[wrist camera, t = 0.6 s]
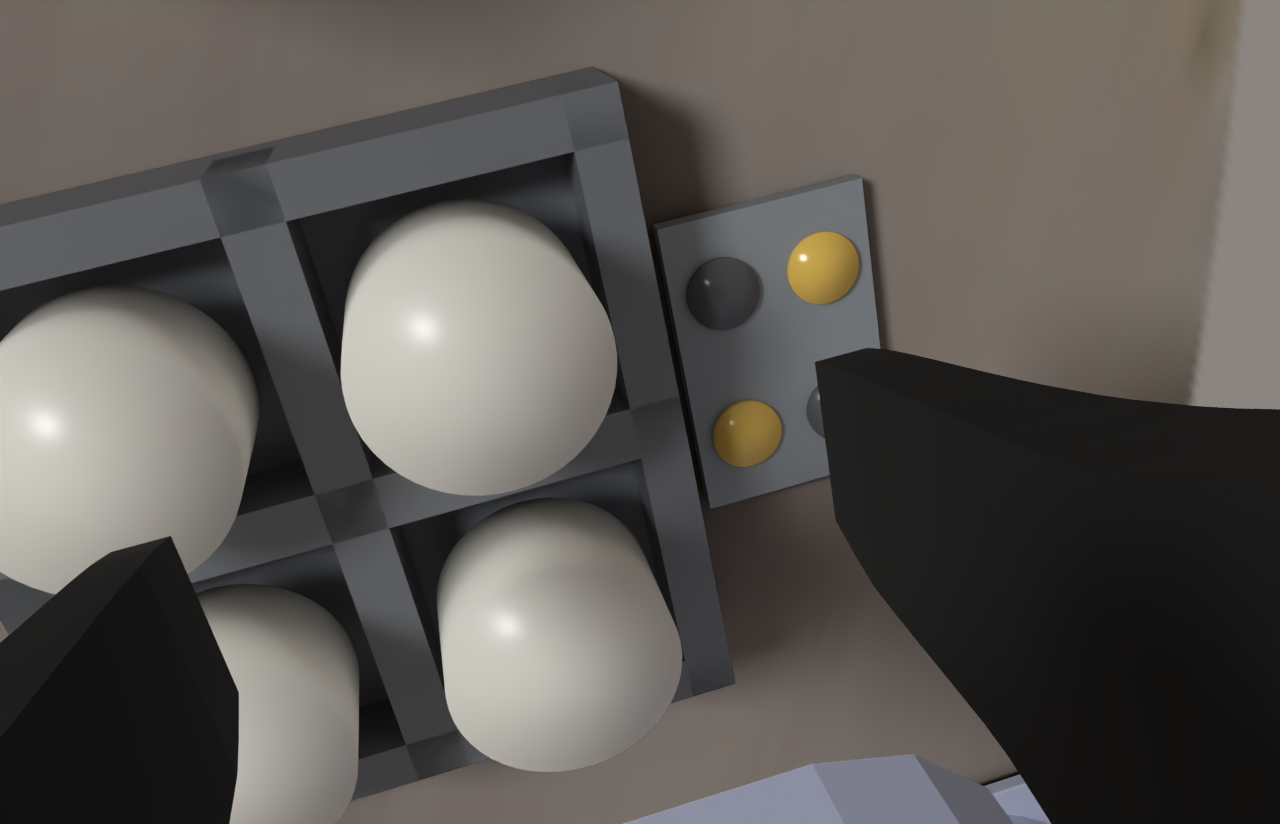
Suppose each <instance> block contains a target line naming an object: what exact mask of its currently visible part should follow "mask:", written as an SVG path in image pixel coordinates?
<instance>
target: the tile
mask: <svg viewBox="0 0 1280 824" xmlns="http://www.w3.org/2000/svg"><path fill="white" fill-rule="evenodd" d="M652 227H653V232H654V237H655V242H656V247H657V253H658V258H659V263H660V268H661V273H662V278H663V284H664V289H665V294H666V299H667V304H668V310H669V315H670V320H671V325H672V330H673V336H674V341H675V346H676V351H677V356H678V361H679V367H680V372H681V377H682V382H683V387H684V393H685V398H686V403H687V408H688V413H689V418H690V424H691V429H692V434H693V439H694V444H695V450H696V455H697V460H698V465H699V470H700V475H701V481H702V486H703V491H704V496H705V501H706V502H707V504H708V506H709V507H710V509H713V508H716V507H720V506H723V505H727V504H730V503H734V502H737V501H741V500H744V499H748V498H751V497H755V496H758V495H762V494H765V493H769V492H773V491H776V490H780V489H783V488H787V487H790V486H794V485H797V484H801V483H804V482H808V481H811V480H815V479H818V478H822V477H825V476H829V475H830V473H829V465H828V458H827V450H826V443H825V435H824V428H823V420H822V413H821V406H820V398H819V391H818V383H817V376H816V368H815V362H816V361H820V360H824V359H827V358H831V357H835V356H839V355H842V354H846V353H850V352H853V351H857V350H861V349H864V348H876V349H880V341H879V332H878V322H877V313H876V304H875V295H874V285H873V276H872V267H871V258H870V248H869V239H868V230H867V220H866V211H865V202H864V193H863V183H862V178H861V177H859V176H857V175H855V174H852V175H848V176H844V177H840V178H836V179H832V180H828V181H824V182H820V183H816V184H812V185H808V186H804V187H800V188H796V189H792V190H788V191H784V192H780V193H776V194H772V195H768V196H764V197H760V198H757V199H753V200H749V201H745V202H741V203H737V204H733V205H729V206H725V207H721V208H717V209H713V210H709V211H705V212H701V213H697V214H693V215H689V216H685V217H681V218H677V219H673V220H669V221H665V222H661V223H657V224H653V225H652Z"/></svg>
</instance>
